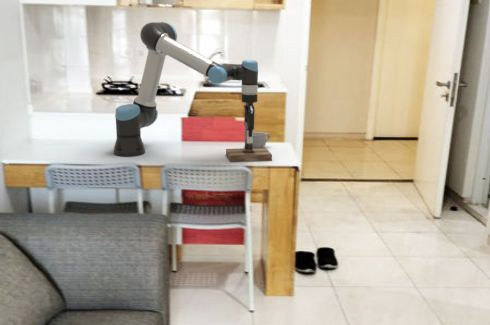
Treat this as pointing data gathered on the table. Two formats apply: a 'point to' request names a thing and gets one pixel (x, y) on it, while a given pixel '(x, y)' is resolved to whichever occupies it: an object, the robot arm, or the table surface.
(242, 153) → the socket block
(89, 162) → the table surface
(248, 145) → the peg
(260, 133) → the teacup
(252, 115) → the robot arm
